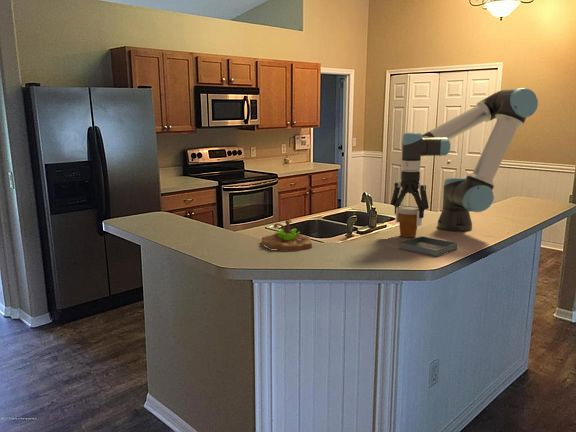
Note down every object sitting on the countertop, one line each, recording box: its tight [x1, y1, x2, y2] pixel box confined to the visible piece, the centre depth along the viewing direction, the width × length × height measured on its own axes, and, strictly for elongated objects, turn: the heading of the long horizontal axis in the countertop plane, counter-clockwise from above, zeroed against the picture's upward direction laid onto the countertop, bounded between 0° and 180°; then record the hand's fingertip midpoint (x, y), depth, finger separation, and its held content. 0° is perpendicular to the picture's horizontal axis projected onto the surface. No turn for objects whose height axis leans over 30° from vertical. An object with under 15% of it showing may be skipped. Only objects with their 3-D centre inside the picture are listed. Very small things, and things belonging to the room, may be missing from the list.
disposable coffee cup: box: [397, 205, 419, 238], centre depth 202 cm, size 10×10×12 cm
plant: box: [261, 218, 313, 251], centre depth 189 cm, size 20×20×11 cm
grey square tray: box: [398, 235, 459, 258], centre depth 183 cm, size 16×16×2 cm
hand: (408, 223), depth 202 cm, fingers closed on disposable coffee cup, 9 cm apart
